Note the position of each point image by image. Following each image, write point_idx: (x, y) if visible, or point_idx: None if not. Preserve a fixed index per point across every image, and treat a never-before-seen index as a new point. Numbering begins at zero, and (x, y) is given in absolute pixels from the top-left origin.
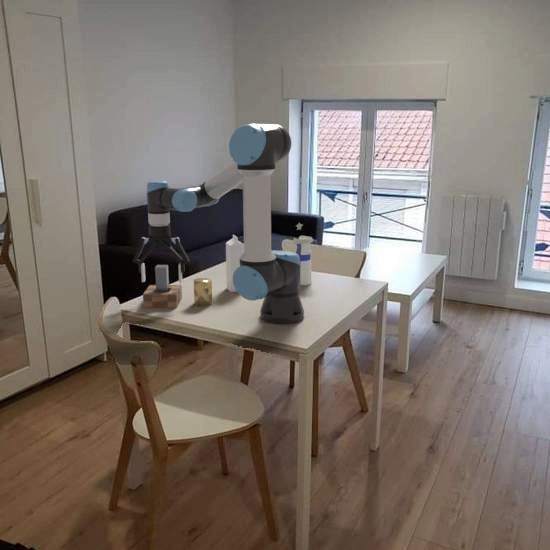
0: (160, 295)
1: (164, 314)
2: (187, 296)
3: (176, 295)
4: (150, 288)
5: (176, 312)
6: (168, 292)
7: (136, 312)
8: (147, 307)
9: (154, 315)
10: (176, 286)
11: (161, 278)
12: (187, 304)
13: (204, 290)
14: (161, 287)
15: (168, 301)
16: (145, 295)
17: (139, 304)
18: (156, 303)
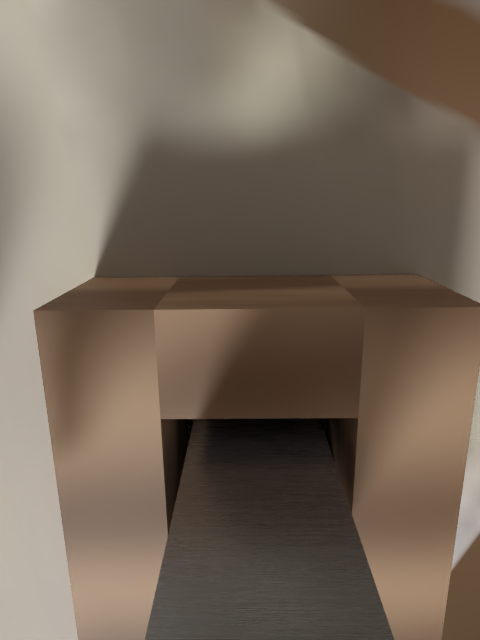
0: (247, 307)
1: (168, 63)
2: None
3: (42, 320)
4: (415, 544)
5: (60, 135)
6: (161, 399)
7: (472, 125)
8: (380, 276)
9: (268, 25)
10: (122, 613)
11: (257, 584)
12: (21, 376)
13: None
14: (260, 473)
15: (160, 290)
16: (446, 303)
17: None
18: (294, 285)
